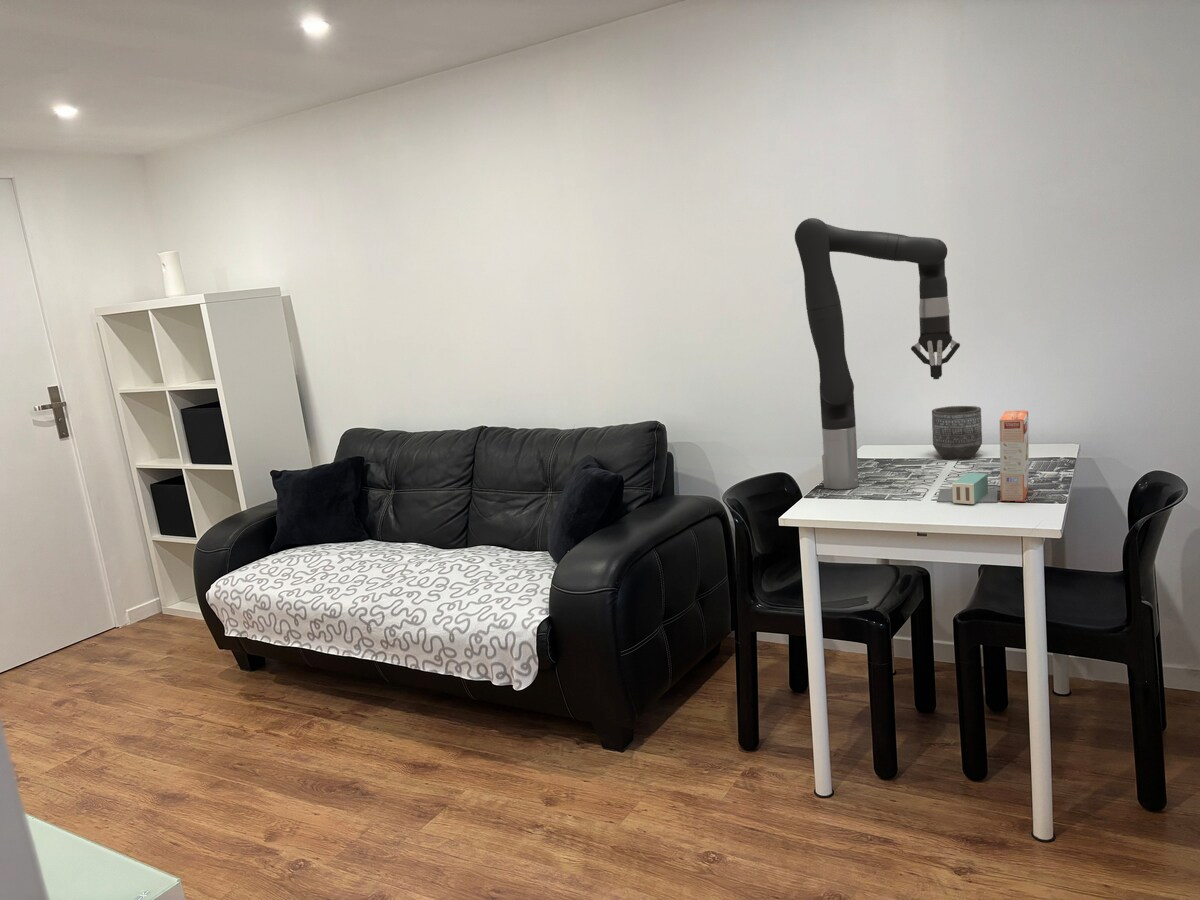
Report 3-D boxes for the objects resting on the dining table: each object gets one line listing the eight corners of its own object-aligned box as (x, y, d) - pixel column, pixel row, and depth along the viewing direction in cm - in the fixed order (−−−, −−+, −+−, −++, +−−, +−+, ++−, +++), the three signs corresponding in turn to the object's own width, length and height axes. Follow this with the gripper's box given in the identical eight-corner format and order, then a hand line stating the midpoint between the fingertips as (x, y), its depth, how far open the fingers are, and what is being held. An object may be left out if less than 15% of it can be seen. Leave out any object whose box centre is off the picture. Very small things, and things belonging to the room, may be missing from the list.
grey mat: (936, 502, 221) (936, 501, 221) (940, 490, 233) (940, 488, 233) (997, 503, 215) (997, 501, 215) (997, 490, 227) (997, 488, 227)
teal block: (952, 483, 217) (967, 472, 226) (952, 502, 218) (967, 491, 227) (973, 484, 214) (987, 473, 223) (973, 504, 215) (987, 492, 224)
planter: (924, 459, 272) (922, 412, 269) (946, 450, 281) (944, 405, 278) (969, 462, 261) (968, 413, 259) (990, 453, 270) (989, 406, 268)
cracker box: (1026, 502, 213) (1025, 418, 209) (999, 502, 216) (997, 419, 212) (1030, 489, 225) (1029, 409, 221) (1004, 488, 228) (1003, 410, 224)
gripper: (906, 317, 233) (909, 382, 236) (960, 313, 227) (962, 379, 230) (909, 316, 239) (912, 378, 242) (961, 311, 234) (963, 375, 237)
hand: (936, 378), depth 236 cm, fingers closed
